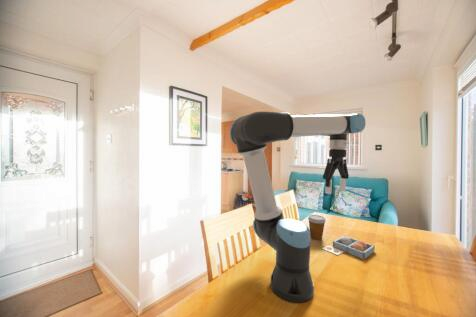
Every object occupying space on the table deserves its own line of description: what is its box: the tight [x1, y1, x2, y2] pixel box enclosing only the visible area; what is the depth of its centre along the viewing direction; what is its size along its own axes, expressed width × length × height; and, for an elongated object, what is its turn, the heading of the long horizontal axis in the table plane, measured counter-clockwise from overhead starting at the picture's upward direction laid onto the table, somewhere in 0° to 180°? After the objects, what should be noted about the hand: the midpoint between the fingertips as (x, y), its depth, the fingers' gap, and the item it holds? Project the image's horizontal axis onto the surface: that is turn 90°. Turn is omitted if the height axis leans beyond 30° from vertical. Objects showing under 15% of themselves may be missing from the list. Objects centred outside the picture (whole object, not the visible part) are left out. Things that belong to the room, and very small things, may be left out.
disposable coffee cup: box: [307, 214, 326, 241], centre depth 116 cm, size 10×10×12 cm
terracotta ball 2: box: [356, 239, 367, 251], centre depth 102 cm, size 5×5×5 cm
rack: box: [332, 235, 375, 260], centre depth 103 cm, size 13×15×3 cm
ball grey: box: [341, 236, 352, 246], centre depth 106 cm, size 5×5×5 cm
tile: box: [321, 245, 345, 256], centre depth 101 cm, size 6×8×1 cm
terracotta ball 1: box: [352, 243, 364, 252], centre depth 98 cm, size 5×5×5 cm
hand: (335, 192), depth 98 cm, fingers open, 13 cm apart
